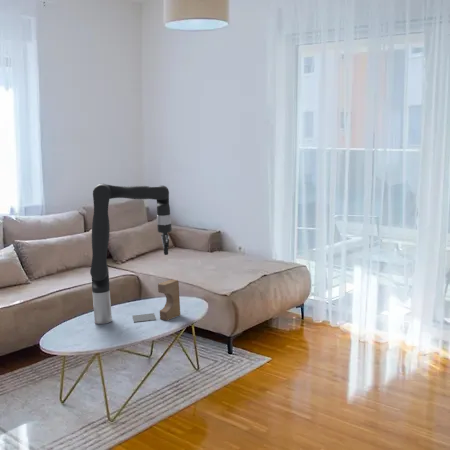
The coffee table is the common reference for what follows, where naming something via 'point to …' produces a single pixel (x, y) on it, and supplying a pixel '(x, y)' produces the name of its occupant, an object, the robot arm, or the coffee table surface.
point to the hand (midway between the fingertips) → (166, 254)
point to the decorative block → (170, 299)
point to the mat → (144, 317)
